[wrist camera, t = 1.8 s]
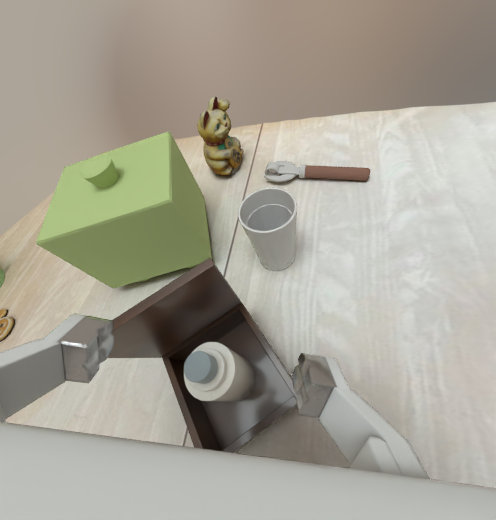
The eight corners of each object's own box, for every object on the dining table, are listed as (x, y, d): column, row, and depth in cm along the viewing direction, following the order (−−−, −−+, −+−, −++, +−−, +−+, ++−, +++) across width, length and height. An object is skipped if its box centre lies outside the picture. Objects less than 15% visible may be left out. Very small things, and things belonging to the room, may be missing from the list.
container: (208, 204, 52) (160, 111, 35) (216, 266, 43) (158, 181, 27) (128, 229, 54) (47, 151, 37) (121, 293, 45) (10, 229, 28)
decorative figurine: (235, 182, 54) (213, 116, 41) (204, 180, 57) (174, 117, 44) (248, 154, 58) (231, 86, 45) (218, 154, 61) (195, 89, 48)
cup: (309, 250, 41) (309, 201, 31) (280, 283, 39) (269, 243, 29) (274, 229, 45) (263, 180, 35) (245, 259, 43) (226, 215, 33)
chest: (305, 398, 30) (304, 398, 25) (222, 462, 29) (204, 474, 24) (249, 314, 37) (240, 301, 33) (181, 361, 36) (161, 355, 31)
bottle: (263, 384, 31) (237, 375, 20) (229, 410, 31) (182, 415, 19) (242, 349, 34) (209, 323, 23) (211, 371, 34) (161, 357, 22)
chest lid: (214, 264, 19) (209, 257, 19) (70, 358, 17) (67, 349, 18) (241, 302, 32) (238, 297, 32) (160, 357, 31) (158, 352, 31)
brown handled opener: (368, 171, 48) (372, 158, 45) (366, 192, 45) (370, 180, 43) (270, 166, 54) (268, 155, 51) (263, 185, 51) (261, 174, 49)
